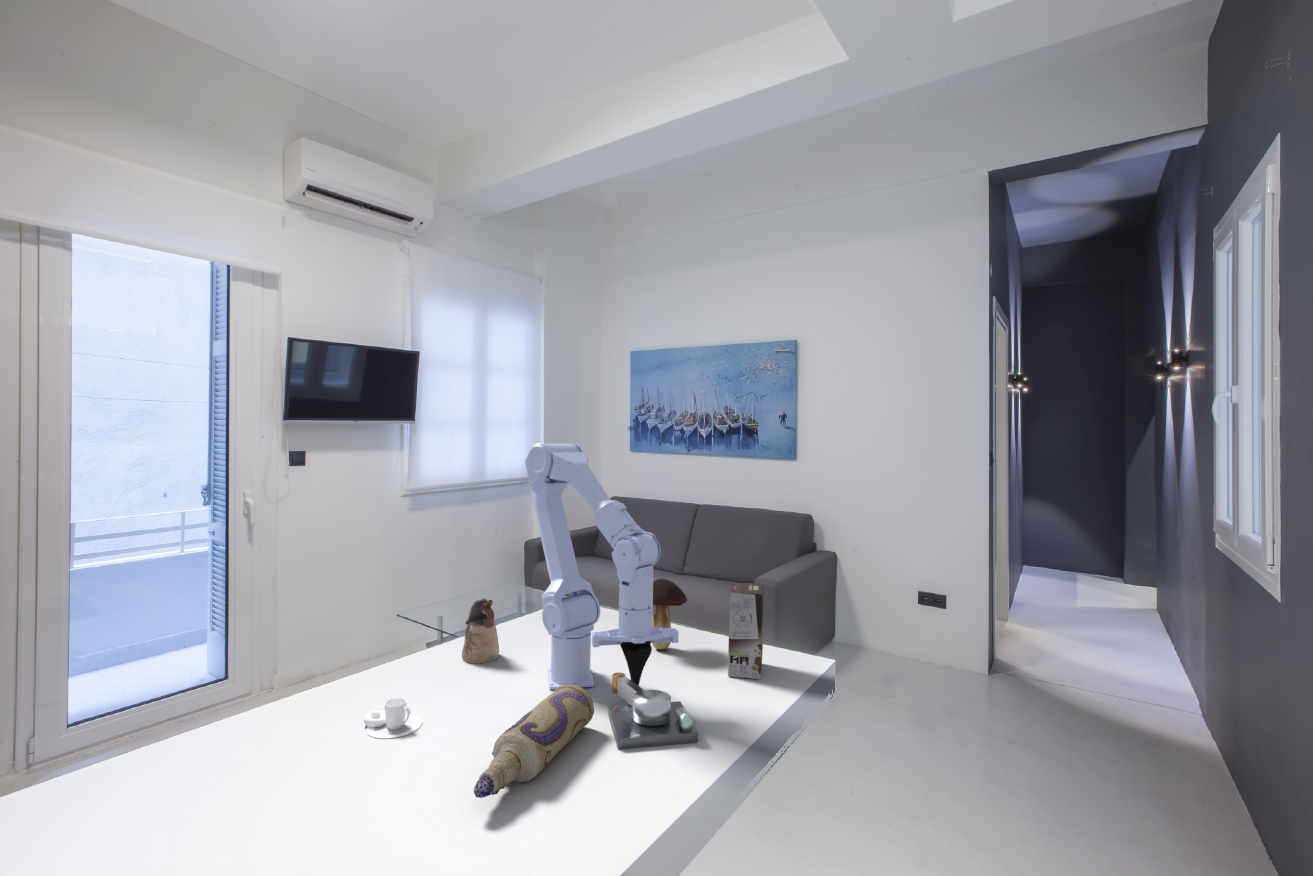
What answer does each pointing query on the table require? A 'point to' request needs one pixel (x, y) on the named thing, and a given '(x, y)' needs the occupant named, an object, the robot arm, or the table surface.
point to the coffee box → (745, 630)
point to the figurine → (480, 634)
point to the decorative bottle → (536, 739)
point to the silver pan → (643, 701)
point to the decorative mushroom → (665, 605)
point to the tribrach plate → (651, 728)
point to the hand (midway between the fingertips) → (634, 686)
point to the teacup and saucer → (391, 719)
